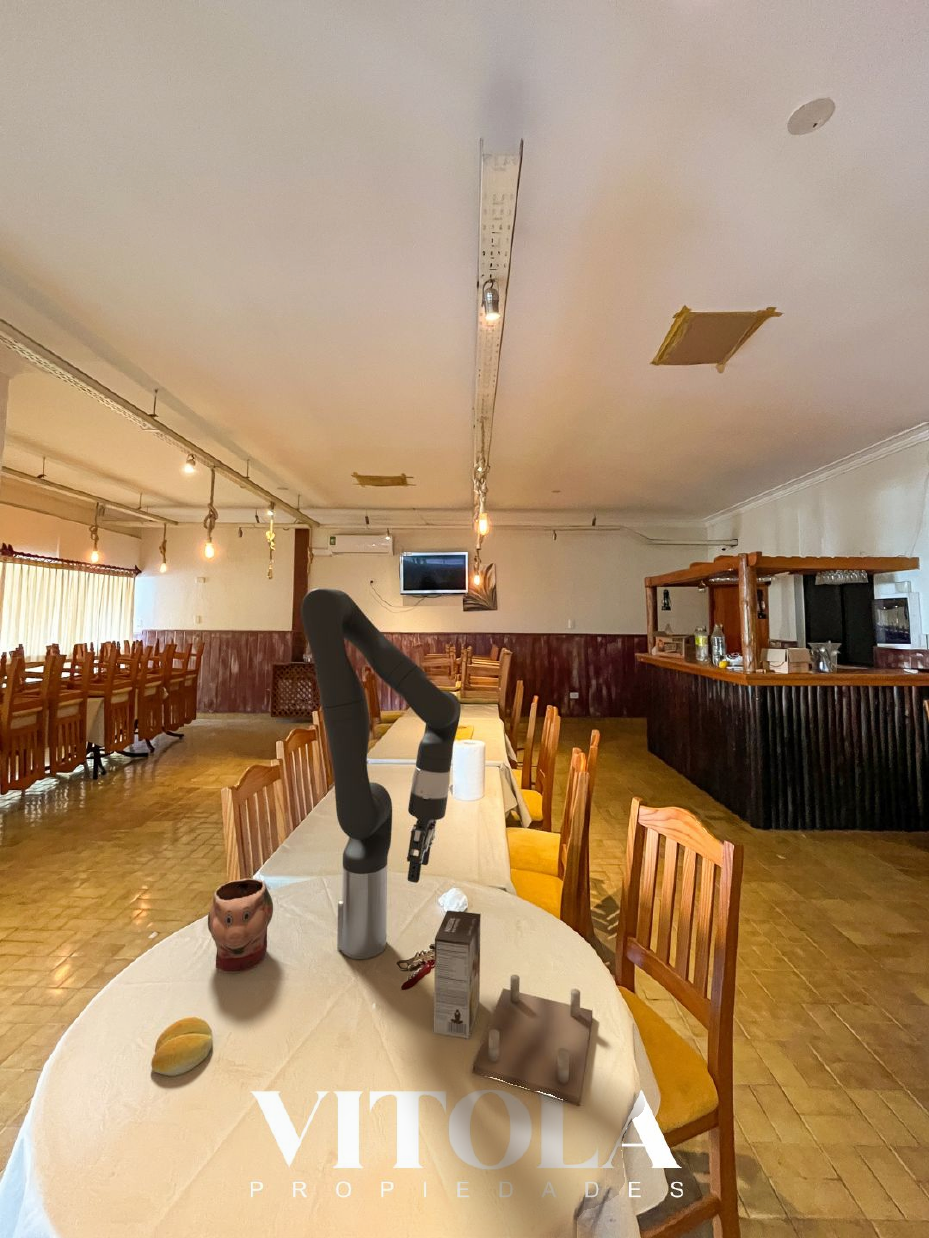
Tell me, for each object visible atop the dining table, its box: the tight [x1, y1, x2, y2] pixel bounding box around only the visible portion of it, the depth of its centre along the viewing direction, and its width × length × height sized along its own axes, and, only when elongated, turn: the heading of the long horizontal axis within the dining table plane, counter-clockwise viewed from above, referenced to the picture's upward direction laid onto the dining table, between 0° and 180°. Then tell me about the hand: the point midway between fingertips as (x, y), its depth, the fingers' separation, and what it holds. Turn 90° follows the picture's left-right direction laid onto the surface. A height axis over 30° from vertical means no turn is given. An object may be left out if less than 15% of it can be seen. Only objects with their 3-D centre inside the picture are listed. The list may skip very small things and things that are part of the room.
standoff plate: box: [472, 974, 593, 1106], centre depth 88 cm, size 16×18×5 cm
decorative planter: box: [207, 877, 274, 973], centre depth 109 cm, size 20×12×14 cm, turn 24°
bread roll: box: [150, 1016, 213, 1077], centre depth 85 cm, size 8×9×4 cm
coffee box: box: [433, 910, 482, 1039], centre depth 93 cm, size 9×6×16 cm
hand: (418, 872), depth 108 cm, fingers open, 8 cm apart
